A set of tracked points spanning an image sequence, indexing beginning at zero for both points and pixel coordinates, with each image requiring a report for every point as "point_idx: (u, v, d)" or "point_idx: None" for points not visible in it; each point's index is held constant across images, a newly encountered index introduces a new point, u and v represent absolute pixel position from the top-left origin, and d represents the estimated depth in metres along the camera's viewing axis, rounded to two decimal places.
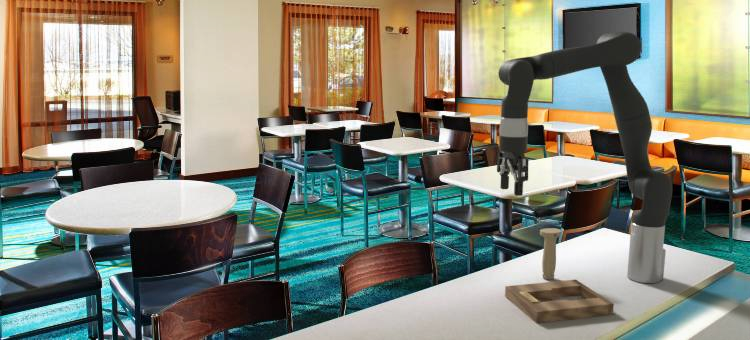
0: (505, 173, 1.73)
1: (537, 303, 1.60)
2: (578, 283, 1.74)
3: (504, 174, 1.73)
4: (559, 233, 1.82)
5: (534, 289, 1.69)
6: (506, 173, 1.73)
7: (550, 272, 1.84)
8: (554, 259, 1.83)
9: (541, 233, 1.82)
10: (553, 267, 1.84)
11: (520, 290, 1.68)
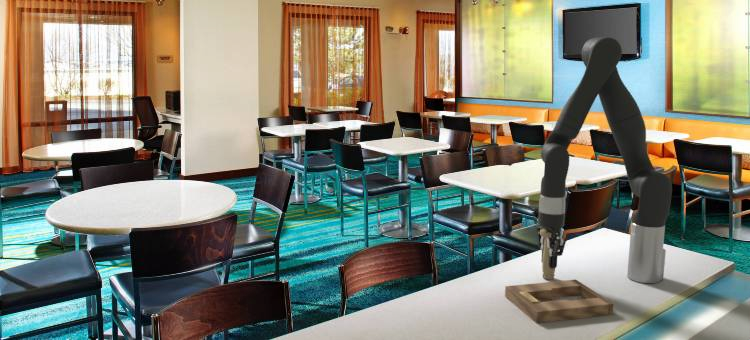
0: None
1: (537, 303, 1.60)
2: (578, 283, 1.74)
3: None
4: None
5: (534, 289, 1.69)
6: None
7: (550, 272, 1.84)
8: None
9: (541, 233, 1.82)
10: None
11: (520, 290, 1.68)
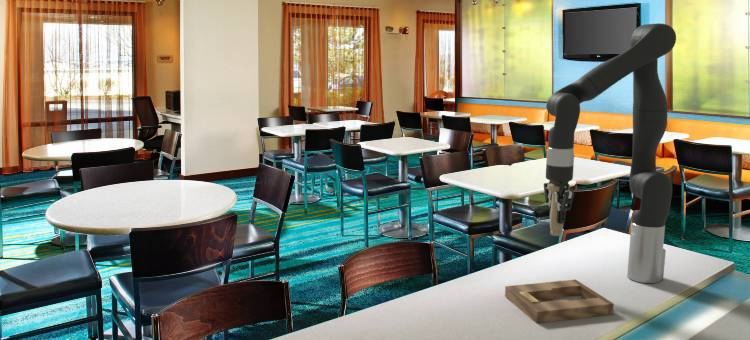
0: None
1: (537, 303, 1.60)
2: (578, 283, 1.74)
3: None
4: None
5: (534, 289, 1.69)
6: None
7: (558, 228, 1.77)
8: None
9: (548, 187, 1.76)
10: None
11: (520, 290, 1.68)
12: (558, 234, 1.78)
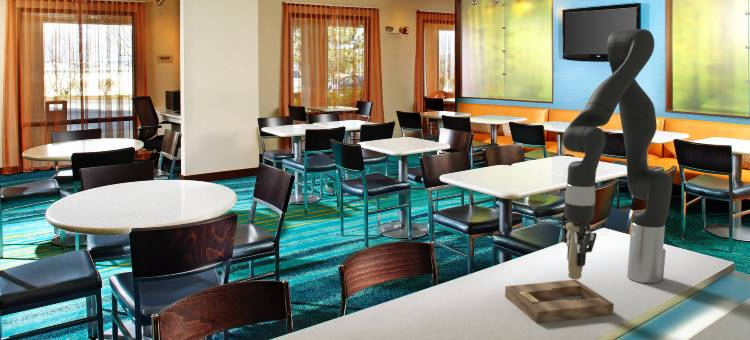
0: None
1: (537, 303, 1.60)
2: (578, 283, 1.74)
3: None
4: None
5: (534, 289, 1.69)
6: None
7: (577, 271, 1.64)
8: None
9: (567, 227, 1.62)
10: None
11: (520, 290, 1.68)
12: (577, 277, 1.64)
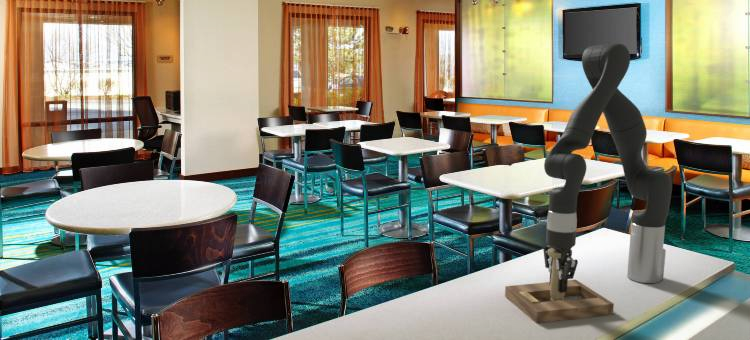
0: None
1: (537, 303, 1.60)
2: (578, 283, 1.74)
3: None
4: None
5: (534, 289, 1.69)
6: None
7: (559, 297, 1.64)
8: None
9: (549, 253, 1.62)
10: None
11: (520, 290, 1.68)
12: None
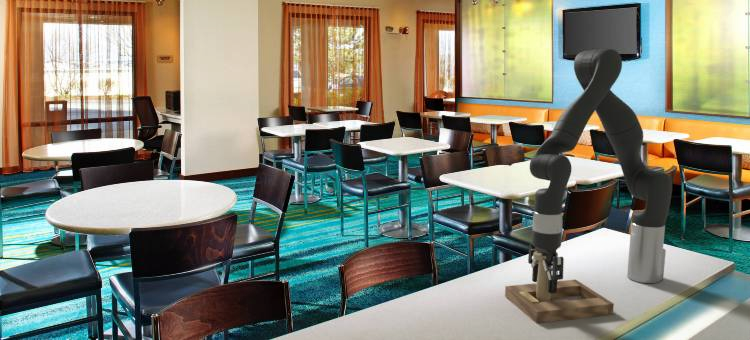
0: (537, 265, 1.67)
1: (537, 303, 1.60)
2: (578, 283, 1.74)
3: (536, 267, 1.67)
4: None
5: (534, 289, 1.69)
6: (538, 265, 1.67)
7: (545, 300, 1.63)
8: None
9: (535, 256, 1.61)
10: (548, 294, 1.63)
11: (520, 290, 1.68)
12: None
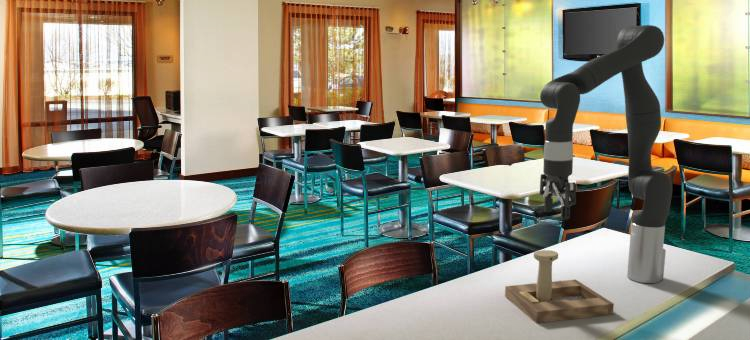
0: (549, 196, 1.71)
1: (537, 303, 1.60)
2: (578, 283, 1.74)
3: (548, 197, 1.71)
4: (555, 256, 1.61)
5: (534, 289, 1.69)
6: (550, 196, 1.71)
7: (545, 300, 1.63)
8: (550, 285, 1.62)
9: (535, 256, 1.61)
10: (549, 294, 1.63)
11: (520, 290, 1.68)
12: None
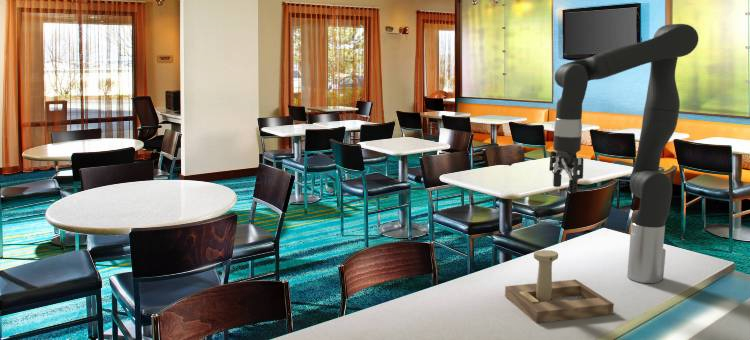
0: (558, 171, 1.82)
1: (537, 303, 1.60)
2: (578, 283, 1.74)
3: (557, 172, 1.81)
4: (555, 256, 1.61)
5: (534, 289, 1.69)
6: (559, 171, 1.82)
7: (545, 300, 1.63)
8: (550, 285, 1.62)
9: (535, 256, 1.61)
10: (549, 294, 1.63)
11: (520, 290, 1.68)
12: None
